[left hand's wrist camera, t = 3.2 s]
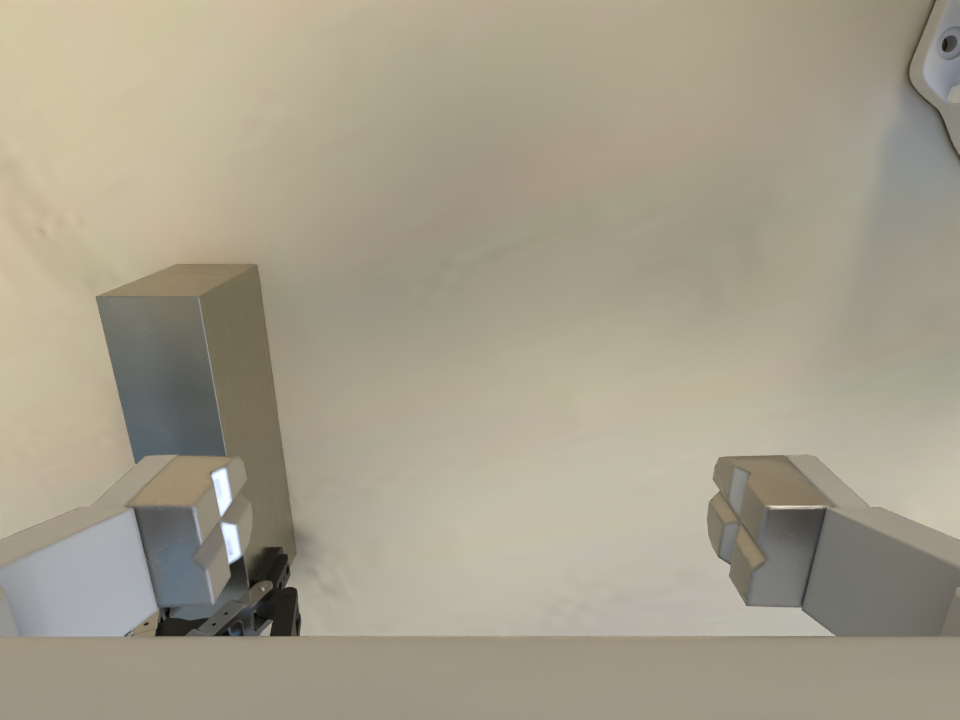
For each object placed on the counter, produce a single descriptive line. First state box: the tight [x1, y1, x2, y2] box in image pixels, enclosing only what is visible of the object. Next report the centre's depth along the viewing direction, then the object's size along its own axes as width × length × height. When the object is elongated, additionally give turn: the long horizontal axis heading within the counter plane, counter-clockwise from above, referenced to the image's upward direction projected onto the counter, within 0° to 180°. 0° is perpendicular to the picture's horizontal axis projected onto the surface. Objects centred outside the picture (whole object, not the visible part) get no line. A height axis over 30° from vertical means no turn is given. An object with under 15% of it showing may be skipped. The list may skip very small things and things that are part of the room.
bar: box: [96, 265, 296, 636], centre depth 39 cm, size 24×6×9 cm, turn 0°
